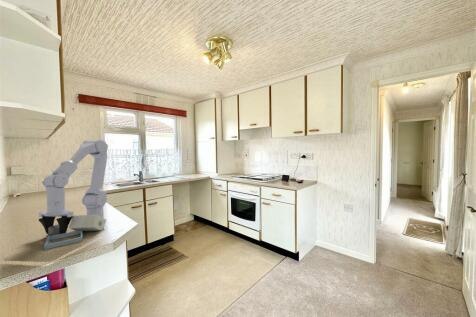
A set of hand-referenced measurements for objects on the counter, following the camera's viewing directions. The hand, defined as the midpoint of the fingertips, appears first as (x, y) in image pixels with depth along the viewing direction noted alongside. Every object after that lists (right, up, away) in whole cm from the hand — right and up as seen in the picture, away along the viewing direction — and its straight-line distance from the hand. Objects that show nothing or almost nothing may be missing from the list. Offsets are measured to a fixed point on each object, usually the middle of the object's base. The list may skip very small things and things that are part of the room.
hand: (56, 233), depth 85 cm
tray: (+8, -2, -5) cm, 10 cm away
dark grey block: (0, -1, 0) cm, 1 cm away
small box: (+16, +3, +5) cm, 17 cm away
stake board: (+1, -2, +2) cm, 3 cm away
